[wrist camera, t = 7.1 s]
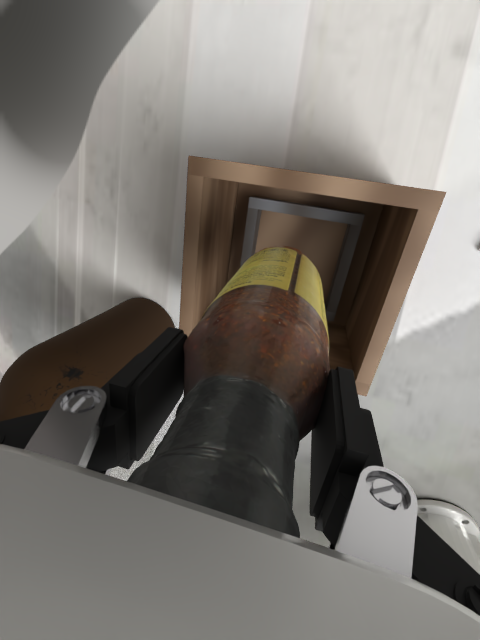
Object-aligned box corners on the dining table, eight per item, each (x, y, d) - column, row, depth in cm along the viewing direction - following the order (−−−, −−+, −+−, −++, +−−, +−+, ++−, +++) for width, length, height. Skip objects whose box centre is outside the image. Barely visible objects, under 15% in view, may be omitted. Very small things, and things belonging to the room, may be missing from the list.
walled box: (399, 190, 29) (446, 192, 19) (352, 334, 36) (366, 396, 26) (231, 166, 32) (188, 155, 21) (216, 305, 39) (177, 349, 28)
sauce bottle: (228, 296, 25) (1, 557, 7) (265, 226, 22) (39, 374, 4) (298, 336, 25) (239, 701, 7) (343, 271, 22) (436, 609, 4)
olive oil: (110, 285, 41) (-131, 398, 19) (183, 302, 40) (11, 447, 18) (113, 351, 46) (-81, 504, 24) (178, 369, 44) (36, 551, 22)
